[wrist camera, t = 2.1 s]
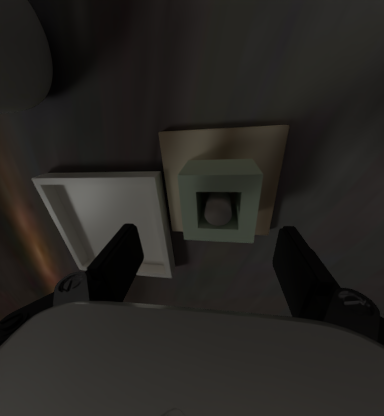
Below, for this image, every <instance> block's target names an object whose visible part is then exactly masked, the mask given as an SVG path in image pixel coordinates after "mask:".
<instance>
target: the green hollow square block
mask: <svg viewBox="0 0 384 416" xmlns="http://www.w3.org/2000/svg"><path fill="white" fill-rule="evenodd" d="M177 176H178V186H179V196H180V205H181V215H182V224H183V234H184V240H202V241H221V242H240V243H253V242H254V235H255V228H256V221H257V215H258V208H259V201H260V194H261V187H262V180H263V173H262V172H261V170H260V169H259V167H258V166H257V165H256V163H255V162H254V160H253V159H221V160H188V161H187V163H186V164H185V166H184V167H183V168H182V170H181V171H180V172H179V174H178V175H177ZM203 192H236V193H235V204H231V212H232V216H231V219H230V221H229V222H228V223H226V224H225V225H221V226H215V225H212V224H210V223H209V222H208V221H207V220H206V218H205V208H206V203H203Z"/></svg>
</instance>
